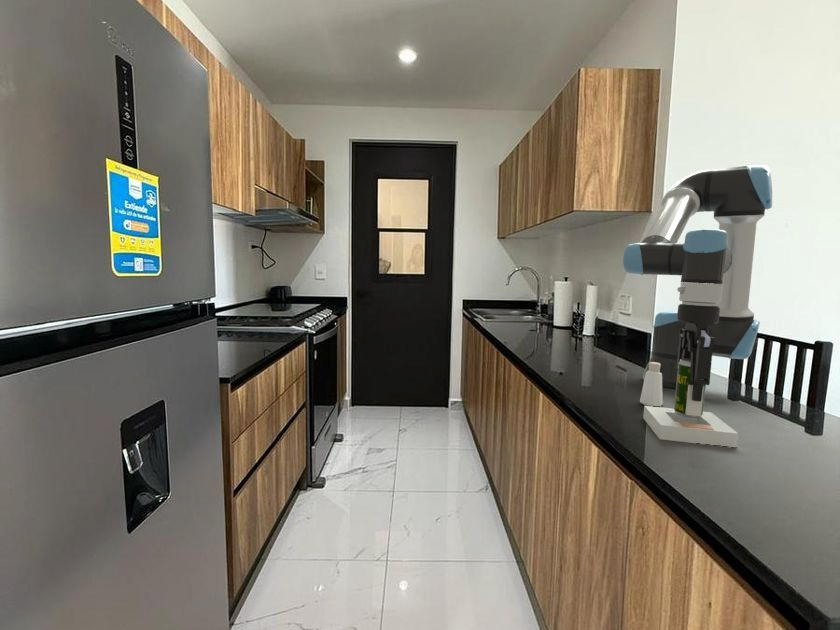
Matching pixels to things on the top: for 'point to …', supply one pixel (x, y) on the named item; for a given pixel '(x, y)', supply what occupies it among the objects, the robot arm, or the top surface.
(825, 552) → the top surface
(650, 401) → the salt shaker
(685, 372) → the beer can
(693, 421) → the socket block
